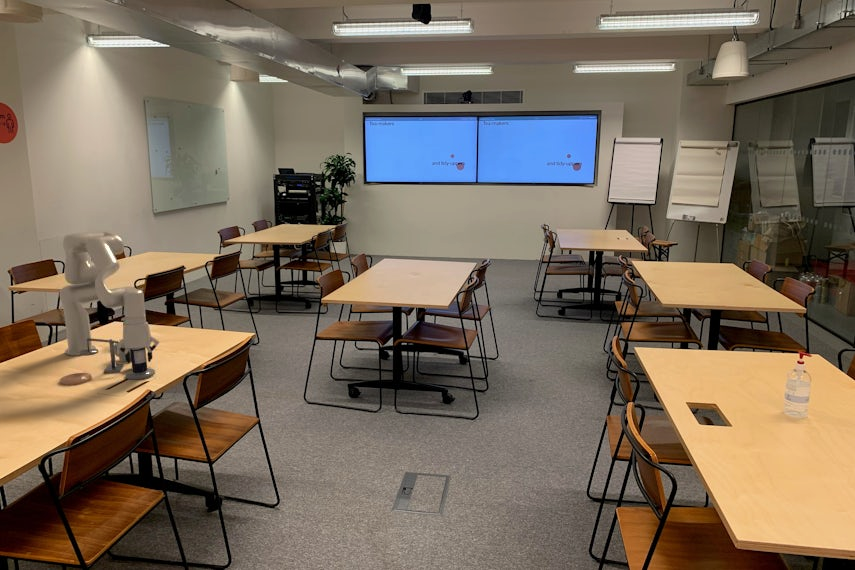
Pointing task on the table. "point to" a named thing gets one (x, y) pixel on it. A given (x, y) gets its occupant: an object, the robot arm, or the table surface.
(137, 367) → the beverage can
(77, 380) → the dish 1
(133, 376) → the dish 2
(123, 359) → the cup
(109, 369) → the balance
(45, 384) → the table surface
